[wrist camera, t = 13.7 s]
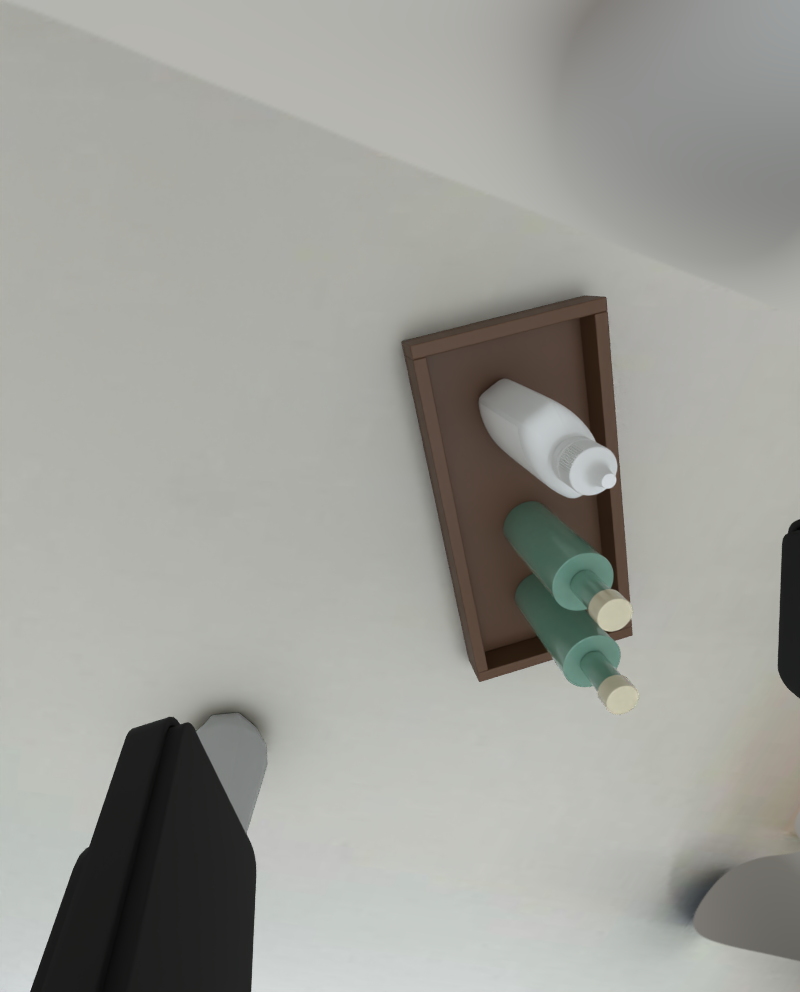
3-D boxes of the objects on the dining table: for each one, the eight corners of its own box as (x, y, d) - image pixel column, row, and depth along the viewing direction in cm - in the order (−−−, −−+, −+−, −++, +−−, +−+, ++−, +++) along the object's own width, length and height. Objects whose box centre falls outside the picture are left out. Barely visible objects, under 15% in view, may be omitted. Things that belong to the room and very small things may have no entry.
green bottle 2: (511, 579, 41) (588, 684, 30) (559, 565, 41) (652, 664, 31) (518, 621, 42) (594, 735, 32) (564, 607, 42) (655, 716, 32)
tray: (401, 341, 34) (409, 346, 32) (585, 295, 35) (606, 296, 33) (468, 660, 43) (479, 682, 41) (614, 616, 44) (633, 635, 42)
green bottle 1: (499, 508, 39) (577, 595, 28) (550, 494, 39) (646, 574, 28) (507, 555, 40) (584, 654, 30) (556, 541, 40) (650, 634, 30)
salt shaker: (283, 745, 43) (280, 925, 31) (212, 779, 43) (183, 974, 31) (242, 689, 41) (223, 861, 29) (168, 725, 41) (118, 912, 29)
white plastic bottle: (482, 468, 37) (564, 548, 26) (474, 381, 35) (559, 428, 24) (547, 455, 38) (653, 528, 27) (542, 369, 36) (656, 410, 25)
